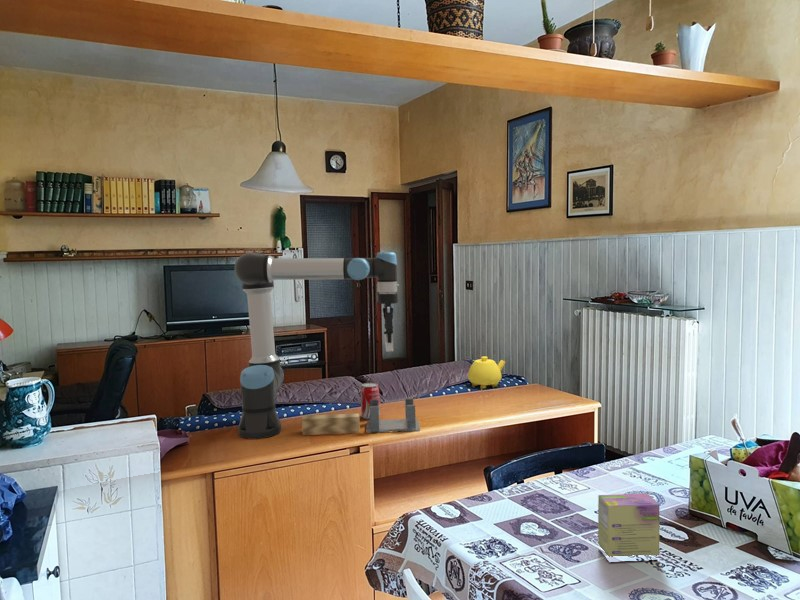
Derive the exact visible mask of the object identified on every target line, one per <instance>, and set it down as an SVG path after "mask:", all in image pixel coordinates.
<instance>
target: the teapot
mask: <svg viewBox="0 0 800 600" xmlns="http://www.w3.org/2000/svg"><path fill="white" fill-rule="evenodd" d="M505 364H506V361H505V360H503V359H501V360H500V361H499V362H498V363H496V361H495V360H493V359H490V358H489V359H488V356H485V355H484V356H481V357H480V359H475V360H474V361H473V362H472V364H471V366H470V368H469V369H468V375H467V379H468V380H469V382H471V384H472V385H471V386H472V387H474V386H475V387H476V386H480V389H482V390H483V389H487V386H491V387H495V388H497V387H499V385H498V383H499V382H500V381H501V380H502V378H503V377H502V369H503V368H504V366H505Z"/></svg>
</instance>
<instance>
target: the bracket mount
mask: <svg viewBox="0 0 800 600" xmlns="http://www.w3.org/2000/svg"><path fill="white" fill-rule="evenodd" d="M404 404H405V405H404V407H405V408H404V411H405V418H401V419H400V418H396V419H395V418H394V419H380V416H379V406H378V399H370V420H367V419H366V431H365V432H366V434H372V433H373V434H374V433H375V434H376V433H377V432H380V433H390V432H389V431H404V432H420V431H421V426H420V422H419V418H418V417H417V418H416V404H414V397H405V398H404Z"/></svg>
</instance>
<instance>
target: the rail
mask: <svg viewBox="0 0 800 600" xmlns="http://www.w3.org/2000/svg"><path fill="white" fill-rule="evenodd" d="M360 422H361V421H360V413H339V414H338V413H337V414H335V413H334V414H314V415H313V414H312V415H311V414H310V415H308V414H307V415H303V416H302V419H301V423H302V424H301V425H302V426H301V427H302V428H301V429H302V436H311V435H312V436H314V435H315V436H316V435H337V434H338V435H339V434H340V435H341V434H342V435H343V434H360V430H361V428H360V427H361V424H360Z"/></svg>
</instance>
